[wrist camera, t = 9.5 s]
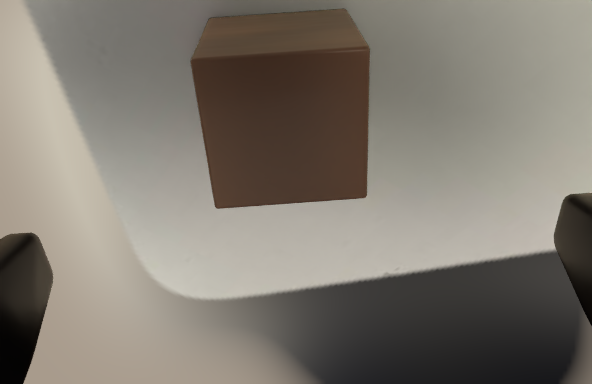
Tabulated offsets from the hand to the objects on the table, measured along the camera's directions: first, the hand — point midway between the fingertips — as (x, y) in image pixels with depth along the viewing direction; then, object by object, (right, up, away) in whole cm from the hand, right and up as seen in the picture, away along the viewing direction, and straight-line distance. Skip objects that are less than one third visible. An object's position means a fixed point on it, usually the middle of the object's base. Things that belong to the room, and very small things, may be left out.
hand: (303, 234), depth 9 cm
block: (-1, +4, +7) cm, 8 cm away
